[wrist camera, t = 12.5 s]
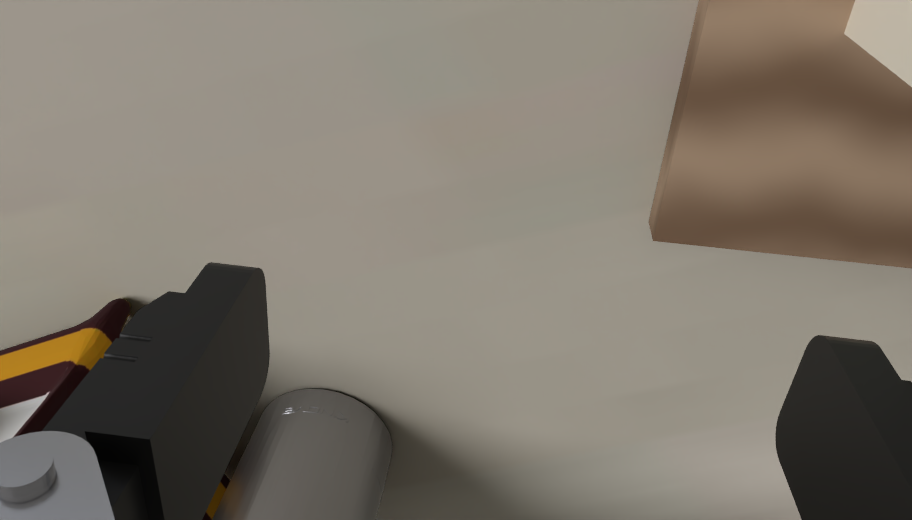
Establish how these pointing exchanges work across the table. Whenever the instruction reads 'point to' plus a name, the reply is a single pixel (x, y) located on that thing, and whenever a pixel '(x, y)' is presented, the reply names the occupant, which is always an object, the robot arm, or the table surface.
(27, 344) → the decorative lantern
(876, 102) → the walnut shelf
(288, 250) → the table surface
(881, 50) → the cream carton
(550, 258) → the table surface
